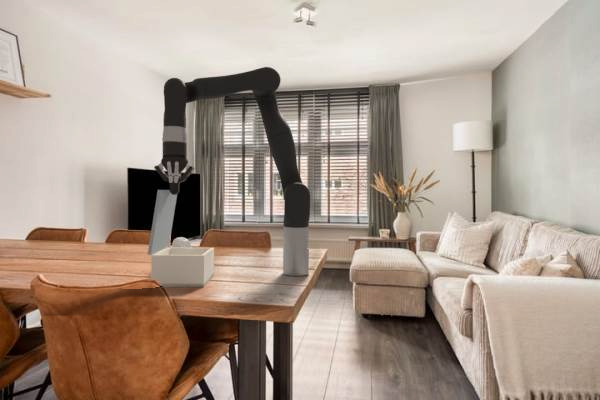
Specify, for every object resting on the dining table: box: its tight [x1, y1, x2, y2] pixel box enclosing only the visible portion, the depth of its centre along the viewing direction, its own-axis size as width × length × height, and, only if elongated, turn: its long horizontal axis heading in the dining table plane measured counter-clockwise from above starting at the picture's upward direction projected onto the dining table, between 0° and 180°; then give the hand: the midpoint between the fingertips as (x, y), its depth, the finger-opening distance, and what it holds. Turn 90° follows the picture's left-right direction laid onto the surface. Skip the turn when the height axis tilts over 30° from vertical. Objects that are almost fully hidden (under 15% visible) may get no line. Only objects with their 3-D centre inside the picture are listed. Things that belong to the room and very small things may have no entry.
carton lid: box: [147, 189, 178, 256], centre depth 117 cm, size 20×17×1 cm
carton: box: [150, 247, 215, 288], centre depth 118 cm, size 16×16×10 cm
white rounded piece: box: [171, 236, 192, 248], centre depth 134 cm, size 10×4×12 cm, turn 39°
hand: (174, 194), depth 117 cm, fingers closed
